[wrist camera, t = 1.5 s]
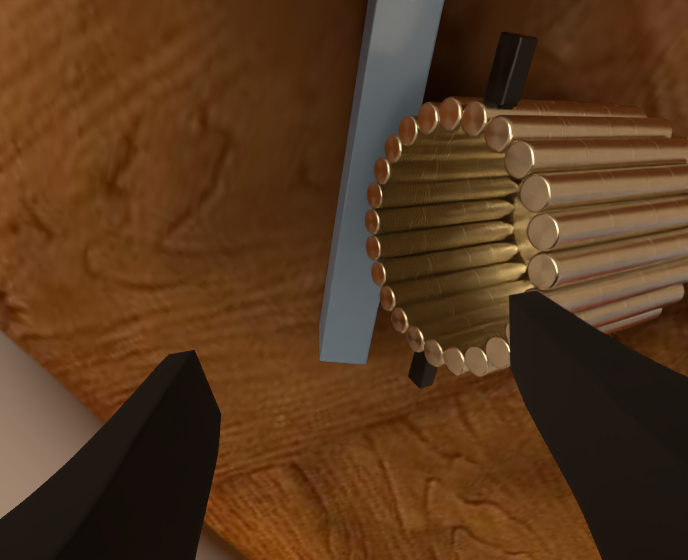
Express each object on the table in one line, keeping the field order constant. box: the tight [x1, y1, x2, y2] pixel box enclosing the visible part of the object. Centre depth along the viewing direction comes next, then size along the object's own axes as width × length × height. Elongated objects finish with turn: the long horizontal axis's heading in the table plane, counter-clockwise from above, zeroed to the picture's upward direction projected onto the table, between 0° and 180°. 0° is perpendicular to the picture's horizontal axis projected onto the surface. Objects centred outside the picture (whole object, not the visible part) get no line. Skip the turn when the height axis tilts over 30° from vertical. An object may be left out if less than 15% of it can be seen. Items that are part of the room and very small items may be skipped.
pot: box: [365, 32, 688, 388], centre depth 16 cm, size 10×11×10 cm
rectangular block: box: [319, 0, 444, 365], centre depth 19 cm, size 2×16×2 cm, turn 172°
